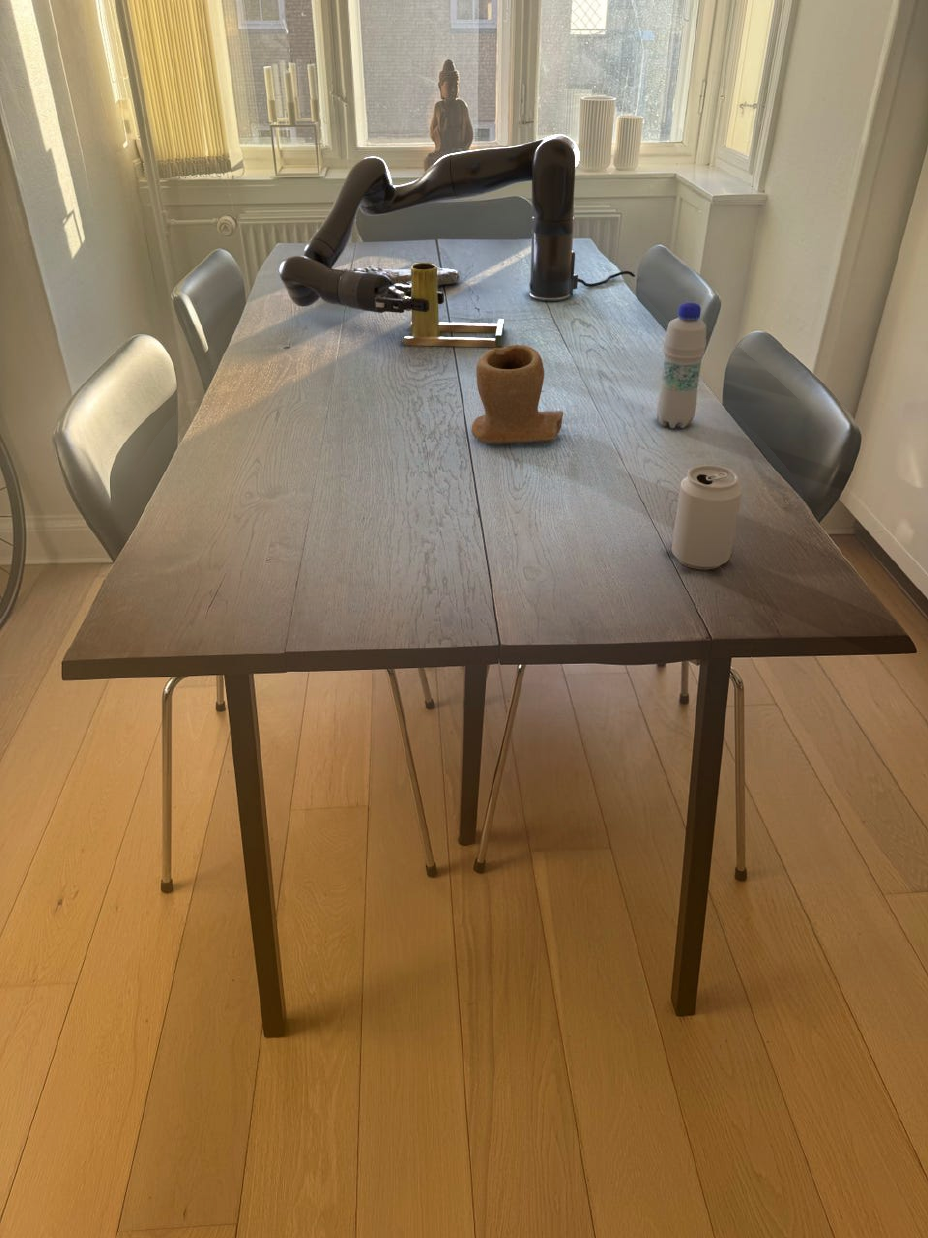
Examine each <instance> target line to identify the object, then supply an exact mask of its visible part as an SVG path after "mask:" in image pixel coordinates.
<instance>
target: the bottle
mask: <svg viewBox="0 0 928 1238" xmlns="http://www.w3.org/2000/svg"><path fill="white" fill-rule="evenodd" d="M701 310H702V308H701V306H700V304H698V303H696V302H692V301H691V302H683V303H681V304H680V306H679V308H678V314H677V318H674V319H672V320H670V321H669V322H668V324H667V328H666V332H665V336H664V340H663V348H662V351H663V355H664V357H663V366H662V374H661V382H660V390H659V395H658V400H657V405H656V406H657V407H656V418H657V421H659V424H660V425H661V426H663V427H666V426H667V425H669V428H670V429H675V427H676V425H677V424H679V428H680V429H684V428H687V426H690V425H691V424H692V423H693V422H694V418H695V415H696V408H697V397H698V395H697V394H698V386H699V380H700V373H701V365H702V359H703V357H704V355H705V353H706V351H705V349H706V347H707V324H706V323H705V322H704V321H702V320H700V318H701Z"/></svg>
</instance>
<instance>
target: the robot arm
mask: <svg viewBox="0 0 928 1238" xmlns="http://www.w3.org/2000/svg"><path fill="white" fill-rule="evenodd" d="M579 161H580V150H579V148H578V145H577V144H576V142H575V141H574V140H573V139H572V138H570V137H569V136H566V135H565V134H553V135H550V136H546V137H544V138H540V139H537V140H534V141H531V142H530V141H529V142H528V143H523V144H519V145H515V146H514V145H513V146H507V147H491V148H482V149H481V148H480V149H473V150H465V151H459V152H454V153H449V154H445V155H443V156H442V157H440V158H439V159H437V160H436V161H435V162H434V163H433V164H432V165H431V166H430V167H429V168H428V169H427V170H426V171H425V172H424V173H423V174H422V175H421V176H419V177H418V178H417V179H415V180H413V181H411V182H408V183H404V184H400V185H399V184H398V185H394V182H393V180H392V177H391V174H390V171H389V169H388V166H387V164H386V162H385V161H384V160H383V159H382V158H380V157H378V156H368V157H365V158H362V159H360V160H359V161H357V162H356V163H355V164H354V165H353V166H352V167H351V169H350V170H349V172H348V174H347V176H346V177H345V180H344V181H343V184H342V186H341V188H340V190H339V192H338V193H337V196H336V197H335V199H334V202H333V204H332V206H331V208H330V210H329V212H328V214H327V215H326V217H325V219H324V220H323V222H322V223H321V225H320V226H319V228H318V229H317V230H316V232H315V233H314V234H313V235H312V237H311V238H310V240H309V241H308V242H307V243H306V245H305V247H304V249H303V255H293V256H290V257H288V258H285V259H284V260H283V261H282V262H281V264H280V266H279V269H278V271H279V272H278V274H279V277H280V279H281V281H282V283H283V286H284V288H285V290H286V293H287V294H288V296H289V298H290V300H291V301H292V303H293V304H294V305H296V306H298V307H301V308H306V307H310V306H312V305H314V304H316V303H317V301H318V300H319V299H321V300H322V301H323V302H325V303H327V304H330V305H336V306H337V305H338V306H344V307H346V308H347V307H348V308H350V309H354V310H359V311H366V312H372V313H378V314H383V313H386V312H387V313H395V314H396V313H397V314H404V312H412V310H415V311H422V312H427V311H429V301H428V300H423V299H417V298H412V299H411V282H407V285H403V284H395V286H394V285H393V284H392V283H391V281H390V279H389V278H388V277H387V276H386V275H381V274H374V273H367V272H360V271H344V270H342V269H339V268H338V269H337V268H333V267H334V266H335V264H336V263H337V262H338V260H339V259H340V257H342V255H343V253H344V252H345V250H346V249H347V247H348V245H349V242H350V239H351V237H352V234H353V228H354V224H355V219H356V215H357V212H358V210H360V211H361V213H362V214H364V215H366V216H371V217H375V216H384V215H388V214H392V213H395V212H399V211H403V210H406V209H410V208H414V207H418V206H422V205H428V204H434V203H439V202H444V201H451V200H460V199H467V198H472V197H477V196H481V195H485V194H489V193H492V192H494V191H497V190H498V191H499V190H501V189H503V188H505V187H509V186H510V185H515V184H518V183H523V182H531V207H532V217H531V219H532V220H531V246H530V247H531V249H530V275H529V284H528V288H529V293H528V295H529V297H530V298H531V299H533V300H537V301H542V302H560V301H565V300H567V299H569V298H570V297H571V296H573V295H574V290H578V283H581V284H582V285H583V286H584V287H589V288H592V287H593V288H594V287H598V286H602V285H604V284H607V283H608V282H610V280H611V279H614V278H617V277H620V276H622V275H629V276H631V277H633V278H634V277H636V274H635V273H634V272H632V271H630V270H623V271H619V272H616V273H614V274H610V275H609V276H607V278H606V279H605V280H602V281H599V282H594V283H593V282H592V283H587V282H586V281H585V280H583V279H582V278H579V275H578V274H576V273H575V265H576V252H575V251H573V245H574V244H573V243H574V227H575V226H574V225H575V213H576V212H575V211H576V205H575V187H576V170H577V168H578V166H579ZM437 295H438V305H442V304H444V303H445V294H444V292H442V291H437Z"/></svg>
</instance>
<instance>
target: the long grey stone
mask: <svg viewBox="0 0 928 1238" xmlns="http://www.w3.org/2000/svg"><path fill="white" fill-rule="evenodd" d="M341 270H344V271H360V272H367V273H374V274H381V275H386V276H387V277H388V278H389V279H390V281H391V283H392V284H393V285H394V286H395V284H403V285H407V282H411V268H406V269H405V268H403V269H390V268H381V267H380V266H377V265H369V266H366V267H357V268H353V267H351V268H342V269H341ZM460 279H461V273H460V270H458V269H450V268H443V267H437V287H439V286H440V287H441V286H443V285H453V284H457V283H459V282H460Z"/></svg>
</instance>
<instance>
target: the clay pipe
mask: <svg viewBox="0 0 928 1238" xmlns="http://www.w3.org/2000/svg"><path fill="white" fill-rule="evenodd" d="M475 373H476V387H477V391H478V394H479V397H480V401H481V403H482V405H483V408H484V414H483V415H480V416H478V417H476V418H475V419H474V421H473V422H472V424H471V428H470V429H471V435H472V436H473V437H474V438H475V439H477V441H478V442H481V443H484V444H500V445H501V444H526V443H541V442H542V443H543V442H544V443H545V442H552V441H556V440H557V438H558V436H559V433H560V431H561V428H562V424H563V417H564V411H561V410H558V411H539V405H540V399H541V394H542V390H543V385H544V382H545V368H544V361H543V359H542V356H541V355H540V353H539V352H538V351H537V350H536V349H534V348H533V347H530V346H529V345H523V344H509V345H507V346H504V347H501V348H496V347H495V348H492V349H490V350H487V351H486V352H484V354H482V355H481V356H480V357H479V359H478V361H477V363H476V372H475Z"/></svg>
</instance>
